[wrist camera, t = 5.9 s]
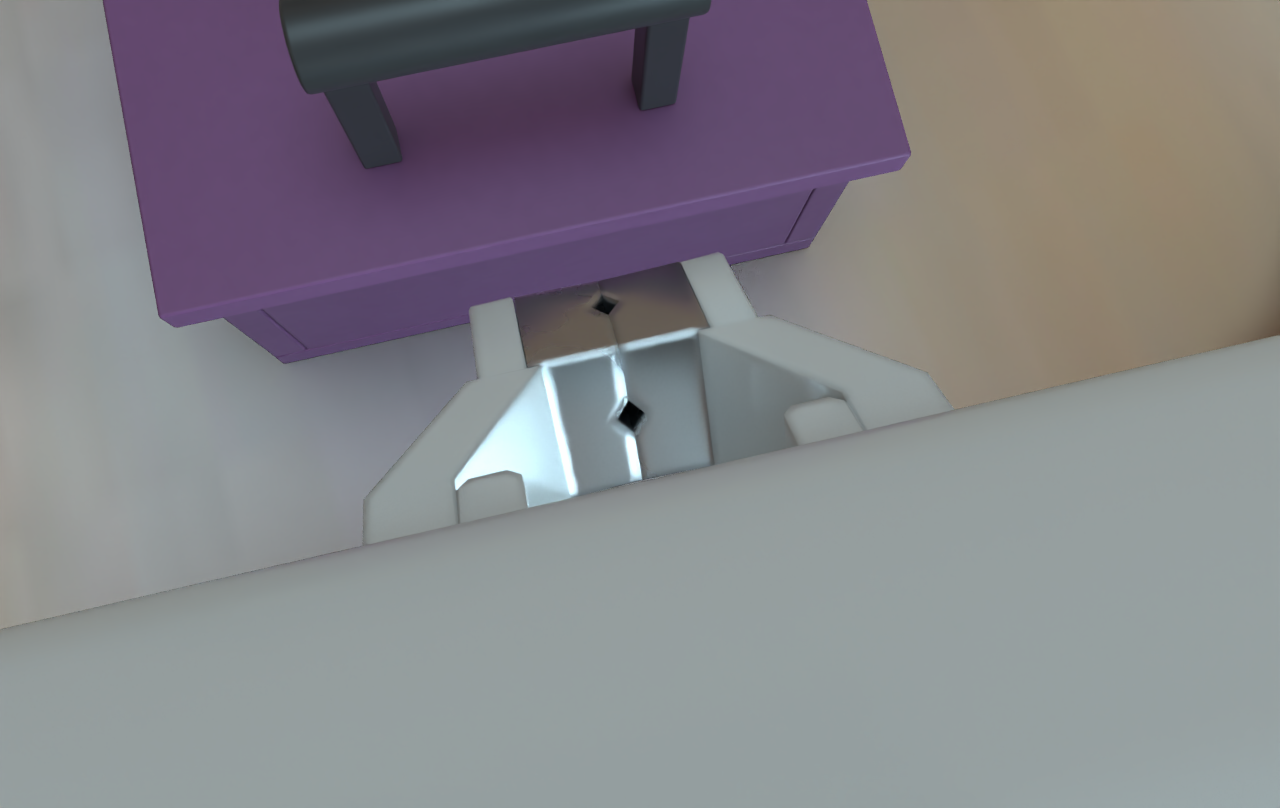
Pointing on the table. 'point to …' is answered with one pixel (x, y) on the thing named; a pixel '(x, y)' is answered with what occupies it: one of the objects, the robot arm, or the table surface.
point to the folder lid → (470, 129)
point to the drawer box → (532, 275)
